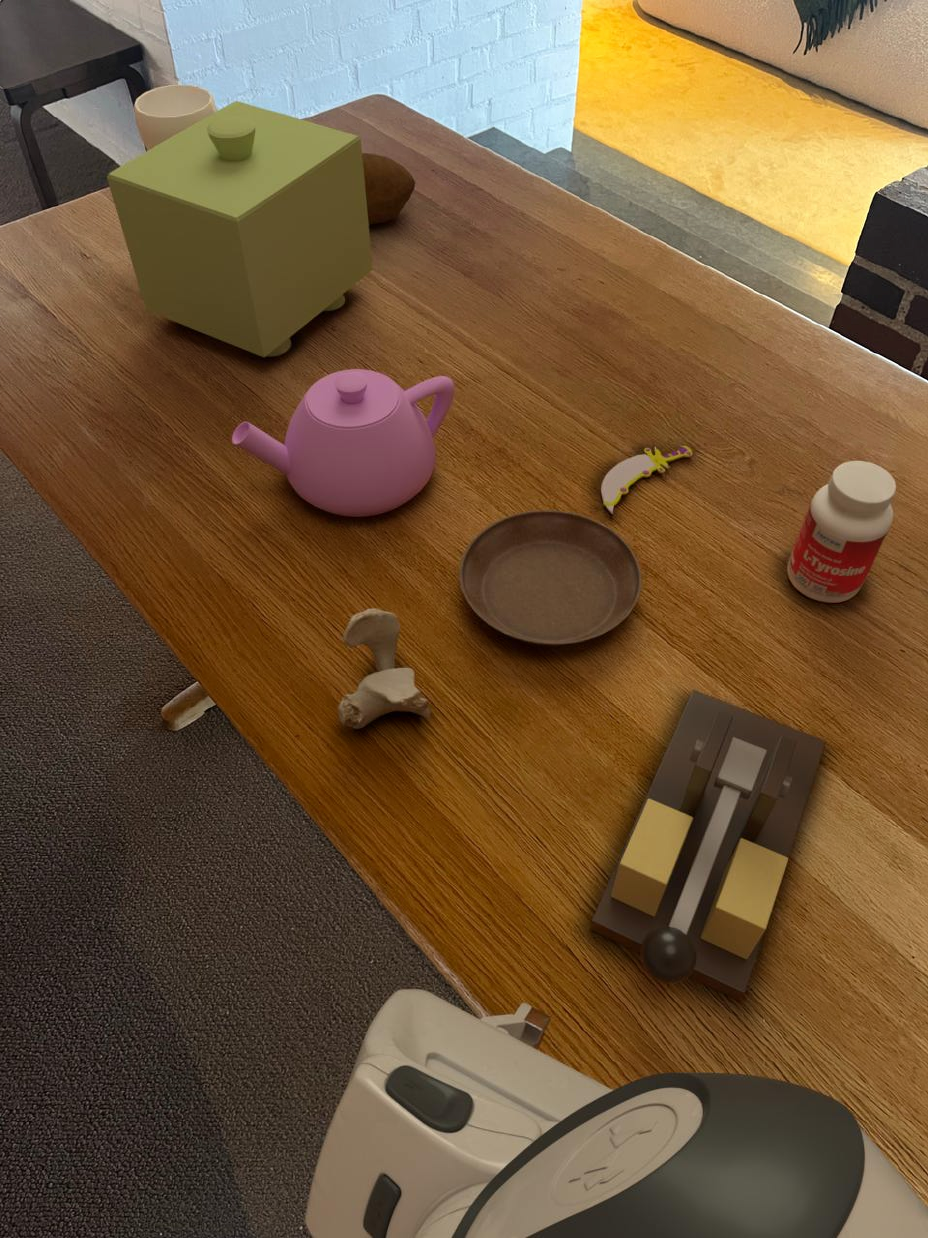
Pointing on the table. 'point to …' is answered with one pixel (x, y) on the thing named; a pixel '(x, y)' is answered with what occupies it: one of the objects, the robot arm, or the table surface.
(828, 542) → the pill bottle
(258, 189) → the container
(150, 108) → the cup
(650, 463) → the decorative knife
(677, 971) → the ball-knob lever switch
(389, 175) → the potato
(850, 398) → the table surface
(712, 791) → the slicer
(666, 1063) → the table surface
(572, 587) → the saucer
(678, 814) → the butter
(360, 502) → the teapot
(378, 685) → the bone
